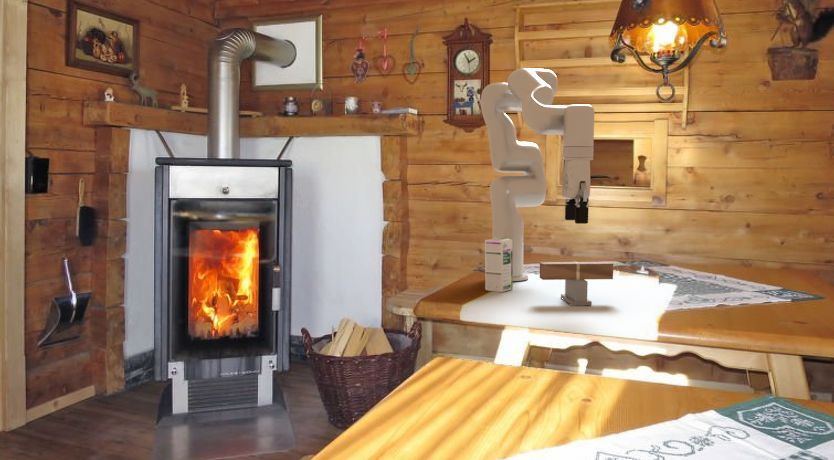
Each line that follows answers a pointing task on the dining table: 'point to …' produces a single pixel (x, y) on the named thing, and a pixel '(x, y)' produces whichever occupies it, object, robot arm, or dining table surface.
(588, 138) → the robot arm
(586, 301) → the ridge block
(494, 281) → the syrup box
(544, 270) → the beam
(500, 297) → the dining table surface
